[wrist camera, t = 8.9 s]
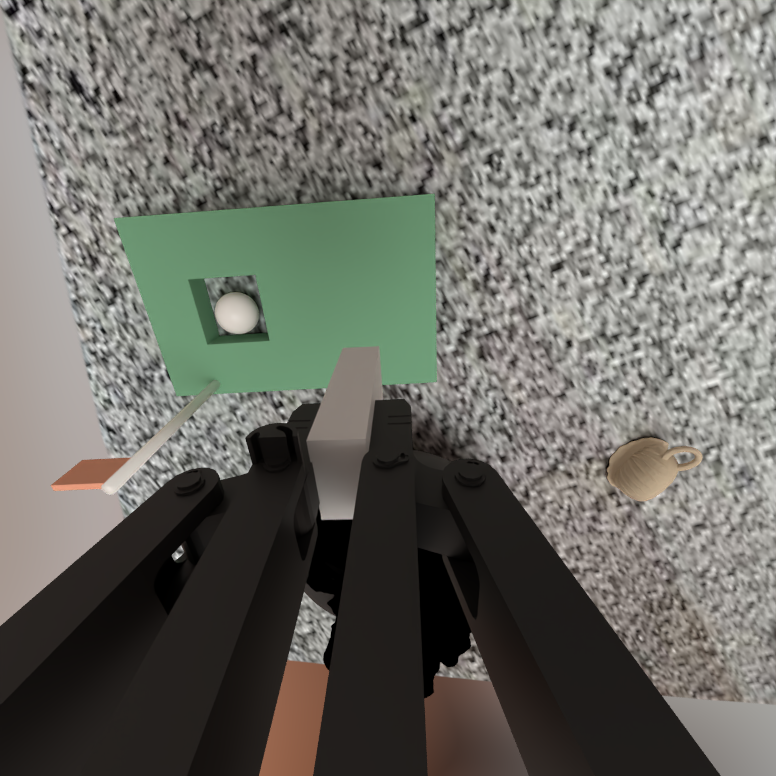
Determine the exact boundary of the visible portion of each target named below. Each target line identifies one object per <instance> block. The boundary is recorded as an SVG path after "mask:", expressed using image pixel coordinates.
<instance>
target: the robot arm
mask: <svg viewBox="0 0 776 776" xmlns="http://www.w3.org/2000/svg"><path fill="white" fill-rule="evenodd" d="M288 421H289V422H287V423H274V424H268V425H265V426H262V427H259V428H257V429H256V430H254V431H252V432H251V433H250V434H249V435H248V436H247V437H246V438H245V439H246V442H247V446H248V450H249V453H250V457H251V460H252V464H253V465H252V466H251V468H250V470H249V472H248V473H246V474H243V475H240V476H236V477H232V478H228V479H223V480H220V477H219V475H218V473H217V472H216V471H215V470H213V469H210V468H196V469H191V470H188V471H186V472H183V473H181V474H179V475H177V476H175V477H174V478H173V479H171V480H170V481H168V482H167V483H166V484H165V485H164V486H162V487H161V488H160V489H159V490H158V491H157V492H155V493H154V494H153V495H152V496H151V497H150V498H148V499H147V500H146V501H145V502H144V503H143V504H142V505H140V506H139V507H138V508H137V509H136V510H135V511H133V512H132V513H131V514H130V515H129V516H128V517H126V518H125V519H124V520H123V521H122V522H121V523H119V524H118V525H117V526H116V527H115V528H114V529H113V530H112V531H110V532H109V533H108V534H107V535H106V536H104V537H103V538H102V539H101V540H100V541H99V542H97V544H95V545H94V546H93V547H92V548H90V549H89V550H88V551H87V552H86V553H85V554H84V555H82V556H81V557H80V558H79V559H78V560H76V561H75V562H74V563H73V564H72V565H71V566H70V567H68V568H67V569H66V570H65V571H64V572H63V573H61V574H60V575H59V576H58V577H57V578H56V579H54V580H53V581H52V582H51V583H50V584H49V585H47V586H46V587H45V588H44V589H43V590H42V591H40V592H39V593H38V594H37V595H36V596H35V597H34V598H32V599H31V600H30V601H29V602H28V603H27V604H25V605H24V606H23V607H22V608H21V609H20V610H18V611H17V612H16V613H15V614H14V615H13V616H12V617H10V618H9V619H8V620H7V621H6V622H5V623H3V624H2V625H1V626H0V776H259V773H260V769H261V764H262V760H263V756H264V752H265V748H266V744H267V740H268V736H269V732H270V728H271V724H272V719H273V715H274V711H275V707H276V703H277V699H278V695H279V690H280V686H281V682H282V679H283V674H284V671H285V666H286V662H287V658H288V654H289V650H290V646H291V642H292V638H293V634H294V630H295V626H296V622H297V617H298V613H299V609H300V605H301V601H302V597H303V593H304V589H305V585H306V581H307V577H308V573H309V568H310V564H311V560H312V556H313V552H314V548H315V544H316V540H317V536H318V528H317V523H316V516H317V512H318V508H319V509H320V514H321V519H322V520H338V519H353V521H352V527H351V534H350V540H349V547H348V553H347V560H346V566H345V573H344V579H343V586H342V592H341V599H340V605H339V612H338V618H337V625H336V631H335V638H334V644H333V651H332V657H331V664H330V670H329V677H328V683H327V689H326V697H325V702H324V710H323V715H322V722H321V729H320V735H319V742H318V748H317V755H316V761H315V767H314V774H313V776H428V775H427V752H426V731H425V708H424V685H423V662H422V640H421V618H420V595H419V573H418V550H417V547H418V548H421V549H425V550H428V551H432V552H435V553H439V554H442V558H443V561H444V564H445V566H446V569H447V571H448V574H449V576H450V579H451V581H452V584H453V586H454V589H455V591H456V594H457V596H458V599H459V601H460V604H461V606H462V609H463V611H464V614H465V616H466V619H467V621H468V624H469V627H470V629H471V632H472V634H473V637H474V639H475V642H476V644H477V647H478V649H479V652H480V654H481V657H482V659H483V662H484V664H485V667H486V669H487V672H488V674H489V677H490V679H491V682H492V684H493V687H494V689H495V692H496V694H497V697H498V699H499V701H500V704H501V707H502V709H503V712H504V714H505V717H506V719H507V722H508V724H509V727H510V729H511V732H512V734H513V737H514V739H515V742H516V744H517V747H518V749H519V752H520V754H521V757H522V759H523V762H524V764H525V767H526V769H527V772H528V774H529V776H720V774H719V773H718V772H717V770H716V769H715V768H714V766H713V765H712V763H711V762H710V761H709V759H708V758H707V757H706V755H705V754H704V753H703V751H702V750H701V749H700V747H699V746H698V744H697V743H696V742H695V740H694V739H693V738H692V736H691V735H690V733H689V732H688V731H687V730H686V728H685V727H684V726H683V724H682V723H681V722H680V720H679V719H678V717H677V716H676V715H675V713H674V712H673V710H672V709H671V708H670V706H669V705H668V704H667V702H666V701H665V700H664V698H663V697H662V695H661V694H660V693H659V691H658V690H657V689H656V687H655V686H654V685H653V683H652V682H651V680H650V679H649V678H648V676H647V675H646V674H645V672H644V671H643V670H642V668H641V667H640V666H639V664H638V663H637V661H636V660H635V659H634V657H633V656H632V655H631V653H630V652H629V651H628V649H627V648H626V647H625V645H624V644H623V642H622V641H621V640H620V638H619V637H618V636H617V634H616V633H615V632H614V630H613V629H612V627H611V626H610V625H609V623H608V622H607V621H606V619H605V618H604V617H603V615H602V614H601V613H600V611H599V610H598V608H597V607H596V606H595V604H594V603H593V602H592V600H591V599H590V598H589V596H588V595H587V594H586V592H585V591H584V589H583V588H582V587H581V585H580V584H579V583H578V581H577V580H576V579H575V577H574V576H573V574H572V573H571V572H570V570H569V569H568V568H567V566H566V565H565V564H564V562H563V561H562V560H561V558H560V557H559V555H558V554H557V553H556V551H555V550H554V549H553V547H552V546H551V545H550V543H549V542H548V541H547V539H546V538H545V536H544V535H543V534H542V532H541V531H540V530H539V528H538V527H537V526H536V524H535V523H534V521H533V520H532V519H531V517H530V516H529V515H528V513H527V512H526V511H525V509H524V508H523V507H522V505H521V504H520V502H519V501H518V500H517V498H516V497H515V496H514V494H513V493H512V492H511V490H510V489H509V488H508V486H507V485H506V483H505V482H504V481H503V479H502V478H501V477H500V475H499V474H498V473H497V471H496V470H495V469H494V468H492V467H491V466H490V465H489V464H486V463H484V462H482V461H479V460H474V459H459V460H456V461H453V462H451V463H449V464H448V465H447V466H446V467H445V468H444V470H438V469H434V468H431V467H428V466H426V465H424V464H422V463H420V462H419V461H418V460H417V459H416V458H415V456H414V453H413V444H412V424H411V406H410V405H409V404H408V403H407V402H406V401H405V399H394V400H383V390H382V377H381V363H380V350H379V346H374V347H352V348H343V349H342V351H341V354H340V356H339V359H338V362H337V364H336V367H335V369H334V372H333V374H332V377H331V379H330V382H329V384H328V387H327V390H326V392H325V395H324V397H323V400H322V402H321V403H315V404H302V405H301V406H300V407H298V408H297V409H296V410H295V411H293V413H292V415H291V417H290V418H289V420H288ZM180 545H181V546H182V548H183V550H184V553H183V555H182V556H181V557H179V558H178V559H177V560H176V561H174V560H173V558H172V556H171V555H172V554H173V553H174V552H175V551H176V550H177V549H178V548H179V546H180Z"/></svg>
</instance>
